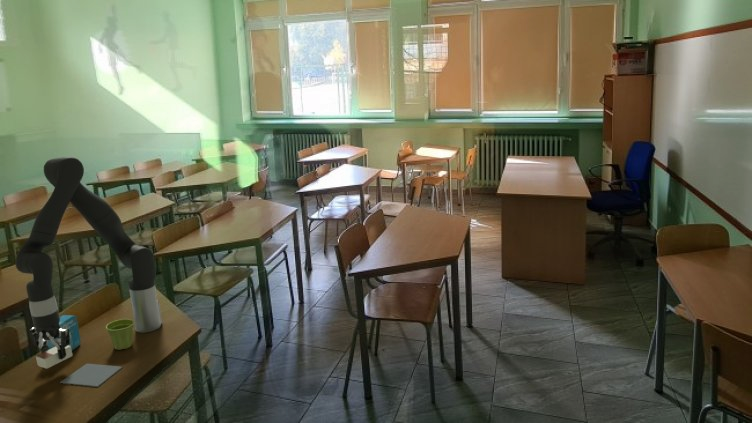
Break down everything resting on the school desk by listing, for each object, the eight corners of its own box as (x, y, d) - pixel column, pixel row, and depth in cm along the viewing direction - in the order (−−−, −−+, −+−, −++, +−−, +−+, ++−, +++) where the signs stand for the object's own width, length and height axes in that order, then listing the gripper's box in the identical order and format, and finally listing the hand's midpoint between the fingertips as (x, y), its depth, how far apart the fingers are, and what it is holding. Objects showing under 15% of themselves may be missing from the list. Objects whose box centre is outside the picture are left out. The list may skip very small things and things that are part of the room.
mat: (86, 364, 190) (86, 363, 190) (122, 367, 187) (122, 366, 187) (60, 383, 179) (60, 382, 179) (97, 387, 176) (97, 386, 176)
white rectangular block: (63, 352, 189) (61, 343, 188) (72, 355, 187) (70, 346, 186) (37, 365, 181) (35, 356, 180) (46, 368, 179) (44, 359, 178)
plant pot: (122, 338, 208) (119, 317, 206) (143, 341, 205) (139, 320, 203) (103, 350, 200) (99, 328, 198) (124, 353, 197) (120, 331, 195)
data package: (58, 360, 194) (52, 328, 191) (47, 359, 195) (40, 328, 192) (81, 343, 206) (76, 314, 203) (70, 343, 206) (65, 313, 203)
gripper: (71, 306, 181) (81, 353, 186) (34, 304, 184) (45, 350, 189) (54, 316, 174) (64, 365, 179) (16, 314, 177) (27, 361, 182)
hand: (54, 357), depth 184 cm, fingers closed on white rectangular block, 5 cm apart
